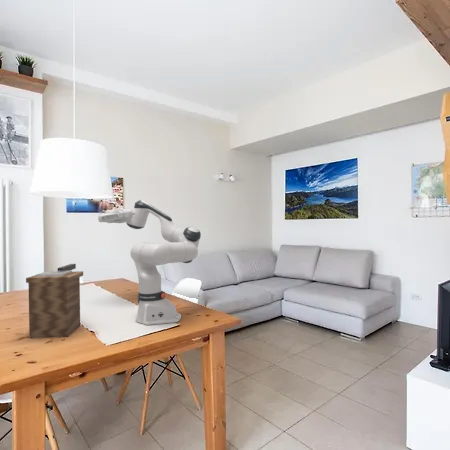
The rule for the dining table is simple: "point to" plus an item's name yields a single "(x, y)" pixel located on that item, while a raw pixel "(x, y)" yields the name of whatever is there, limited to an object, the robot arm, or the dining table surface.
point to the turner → (59, 271)
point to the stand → (54, 305)
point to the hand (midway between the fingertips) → (109, 217)
